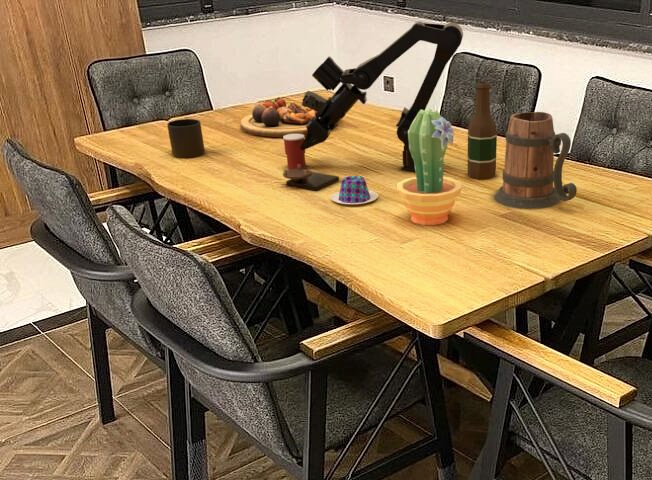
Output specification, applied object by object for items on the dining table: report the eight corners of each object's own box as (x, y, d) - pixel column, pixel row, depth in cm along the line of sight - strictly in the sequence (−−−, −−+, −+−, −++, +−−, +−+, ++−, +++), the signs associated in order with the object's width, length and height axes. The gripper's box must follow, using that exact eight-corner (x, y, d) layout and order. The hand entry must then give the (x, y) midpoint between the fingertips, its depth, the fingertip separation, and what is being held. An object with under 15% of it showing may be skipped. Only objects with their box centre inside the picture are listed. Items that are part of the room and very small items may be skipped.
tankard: (480, 196, 212) (481, 115, 201) (526, 182, 221) (530, 104, 210) (548, 220, 197) (554, 134, 186) (595, 204, 206) (603, 121, 195)
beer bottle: (493, 180, 223) (496, 86, 210) (465, 178, 224) (465, 85, 211) (497, 171, 229) (500, 79, 216) (469, 170, 231) (470, 79, 218)
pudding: (384, 193, 215) (383, 173, 212) (369, 208, 205) (367, 187, 202) (340, 190, 218) (339, 170, 215) (323, 205, 208) (322, 184, 205)
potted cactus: (406, 233, 191) (403, 120, 177) (390, 211, 203) (385, 105, 190) (470, 225, 194) (471, 115, 181) (450, 204, 207) (450, 99, 193)
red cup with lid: (310, 168, 235) (307, 137, 230) (291, 171, 232) (288, 140, 228) (302, 163, 239) (299, 132, 234) (283, 166, 236) (279, 135, 232)
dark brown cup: (194, 146, 256) (189, 115, 251) (210, 154, 248) (205, 123, 243) (165, 151, 251) (159, 120, 247) (179, 160, 243) (173, 128, 238)
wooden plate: (357, 121, 279) (356, 95, 275) (296, 143, 257) (293, 115, 252) (284, 110, 294) (282, 85, 289) (220, 130, 271) (216, 104, 267)
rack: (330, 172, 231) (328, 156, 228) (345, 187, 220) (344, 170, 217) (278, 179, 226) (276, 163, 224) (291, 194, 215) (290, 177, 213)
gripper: (324, 74, 230) (289, 115, 237) (310, 88, 215) (274, 132, 222) (354, 103, 234) (319, 143, 241) (343, 120, 218) (306, 162, 225)
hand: (304, 144), depth 232 cm, fingers open, 9 cm apart
